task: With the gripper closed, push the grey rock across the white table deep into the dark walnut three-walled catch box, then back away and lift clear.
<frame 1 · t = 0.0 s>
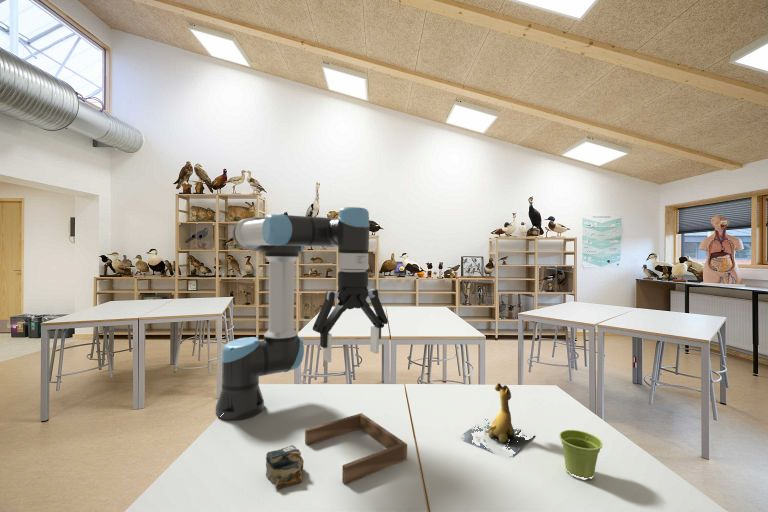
hand: (351, 356, 93), 28 cm above the table, fingers open, 13 cm apart
rock: (285, 477, 90), on the table
stuffed giraffe: (496, 438, 110), on the table
catch box: (353, 451, 101), on the table
plant pot: (579, 474, 93), on the table
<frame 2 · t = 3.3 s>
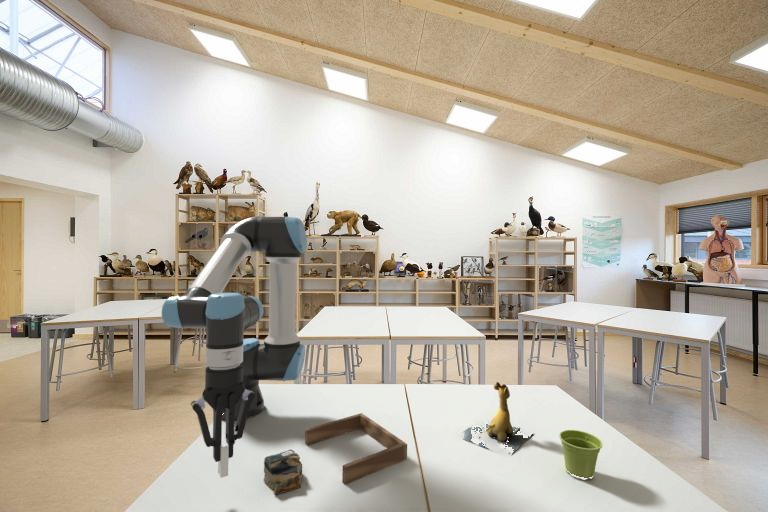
hand: (223, 473, 81), 5 cm above the table, fingers closed
rock: (283, 482, 88), on the table
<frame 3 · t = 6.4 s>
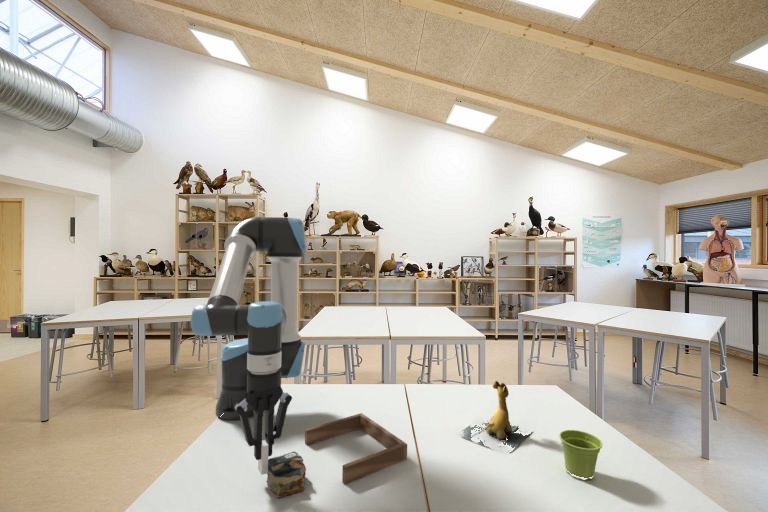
hand: (263, 470, 87), 3 cm above the table, fingers closed
rock: (286, 485, 87), on the table, touching gripper
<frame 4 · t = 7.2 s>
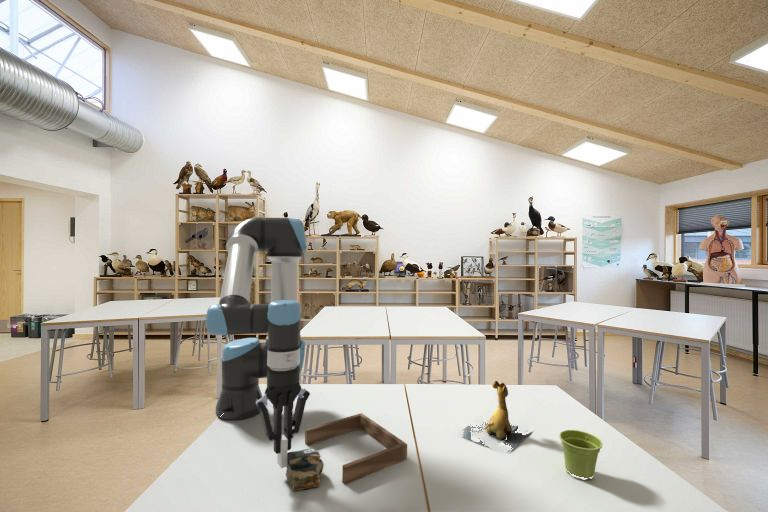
hand: (282, 464, 89), 3 cm above the table, fingers closed
rock: (304, 479, 89), on the table, touching gripper
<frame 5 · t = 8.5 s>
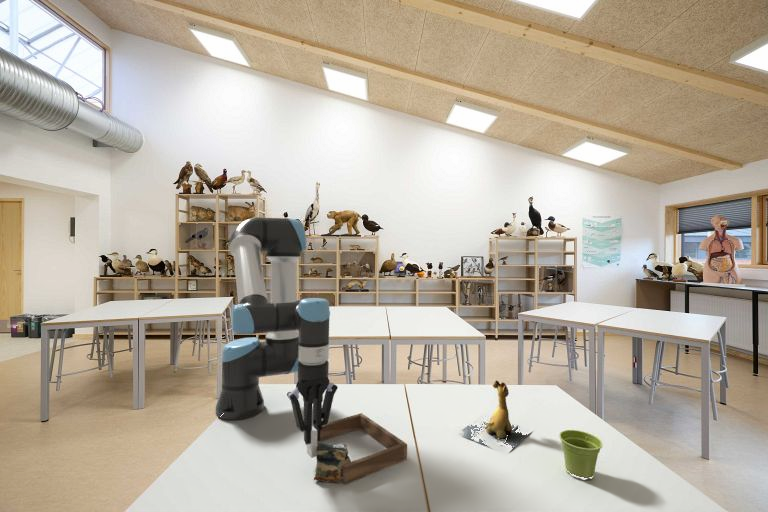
hand: (311, 454, 94), 3 cm above the table, fingers closed
rock: (331, 472, 92), on the table, touching gripper
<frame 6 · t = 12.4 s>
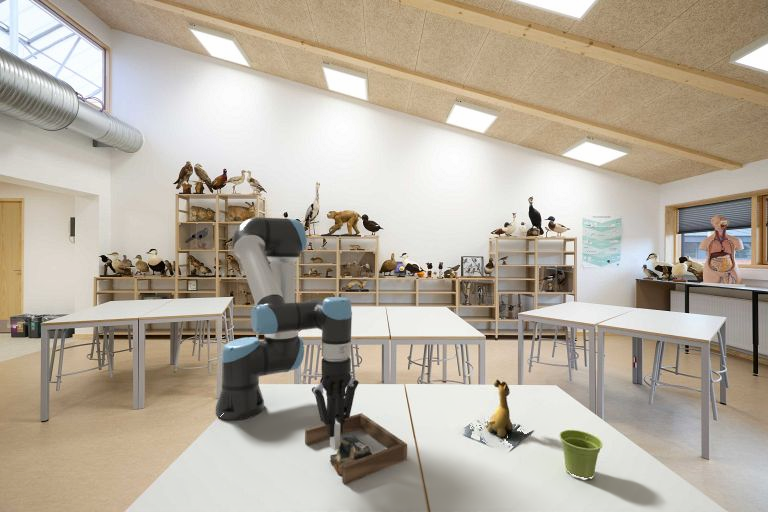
hand: (334, 447, 98), 3 cm above the table, fingers closed
rock: (350, 466, 95), on the table
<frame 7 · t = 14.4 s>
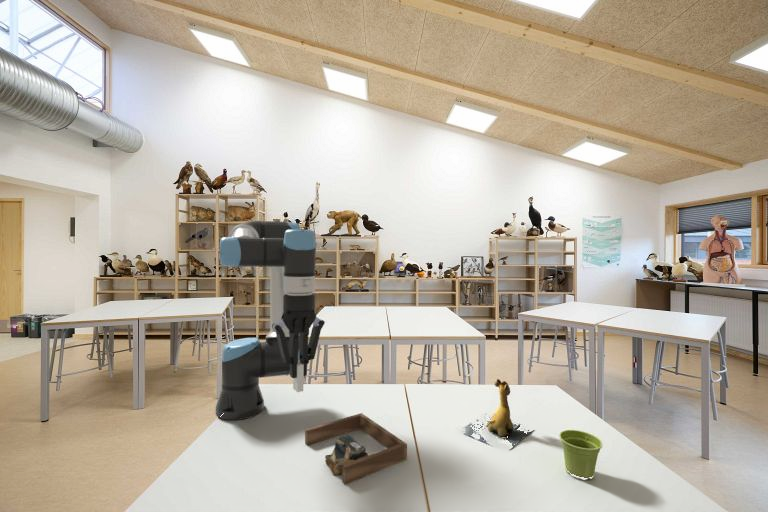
hand: (298, 389, 91), 20 cm above the table, fingers closed
rock: (345, 466, 95), on the table
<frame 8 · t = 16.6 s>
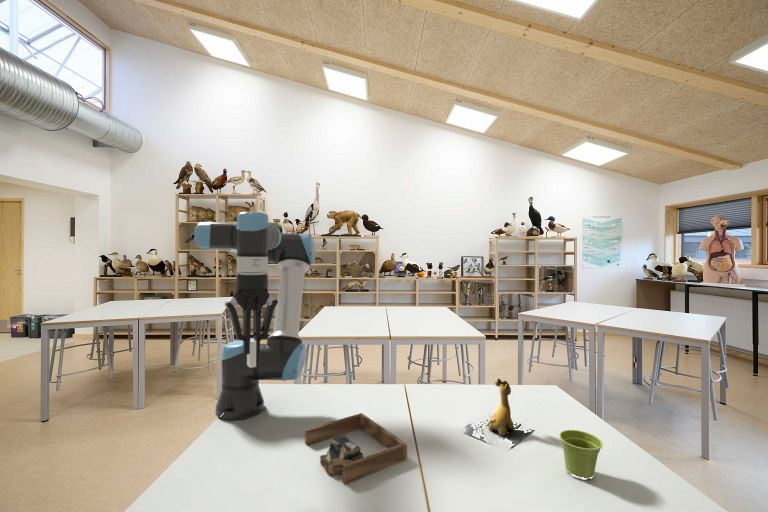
hand: (251, 365, 95), 24 cm above the table, fingers closed
rock: (340, 466, 95), on the table
at the end: rock inside the target area (7.0 cm from its centre), on the table; rock moved 13.6 cm from its start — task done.
